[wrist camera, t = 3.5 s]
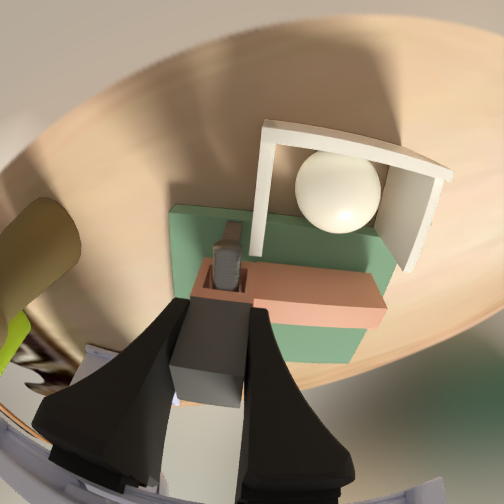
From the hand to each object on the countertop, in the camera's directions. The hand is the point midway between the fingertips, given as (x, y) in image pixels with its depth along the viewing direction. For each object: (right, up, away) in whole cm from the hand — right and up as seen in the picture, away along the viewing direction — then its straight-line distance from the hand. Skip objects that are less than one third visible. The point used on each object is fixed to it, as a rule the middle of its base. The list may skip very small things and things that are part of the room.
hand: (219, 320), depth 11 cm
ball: (+5, +6, +1) cm, 8 cm away
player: (+3, +1, +4) cm, 5 cm away
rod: (0, 0, +6) cm, 6 cm away
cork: (-14, +4, +6) cm, 15 cm away
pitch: (+3, 0, +7) cm, 7 cm away
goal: (+5, +7, +3) cm, 9 cm away
